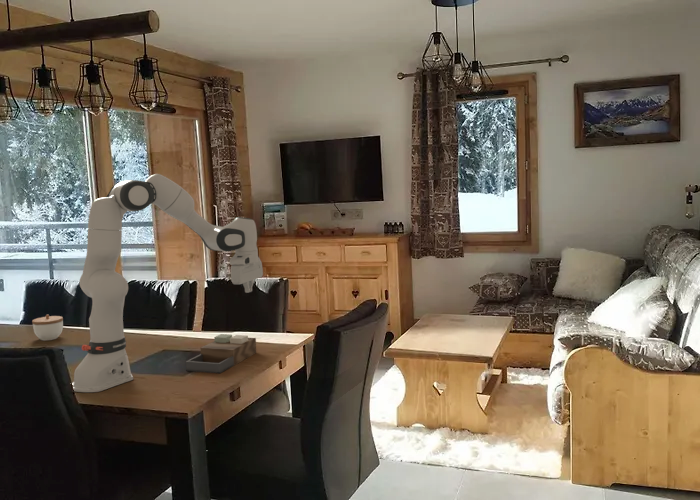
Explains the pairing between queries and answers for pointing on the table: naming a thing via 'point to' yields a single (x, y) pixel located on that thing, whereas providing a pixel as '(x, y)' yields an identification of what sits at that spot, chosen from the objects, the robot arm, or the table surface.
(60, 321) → the lidded bowl
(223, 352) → the brown flat block
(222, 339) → the sage tile
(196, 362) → the box
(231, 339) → the cream tile
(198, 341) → the table surface
